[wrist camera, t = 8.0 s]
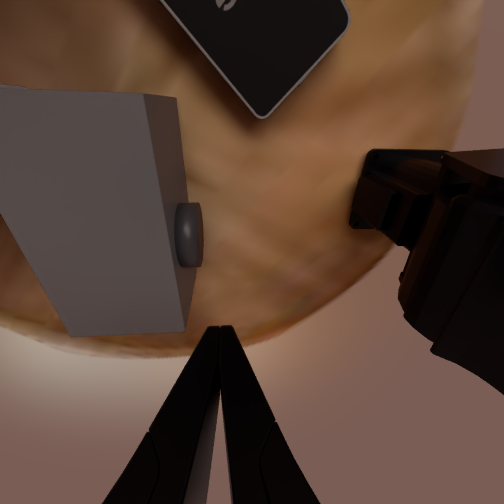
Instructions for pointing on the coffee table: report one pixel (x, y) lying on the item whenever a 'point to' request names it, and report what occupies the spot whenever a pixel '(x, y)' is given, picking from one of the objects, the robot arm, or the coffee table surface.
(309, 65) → the external hard drive
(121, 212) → the block
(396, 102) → the coffee table surface
